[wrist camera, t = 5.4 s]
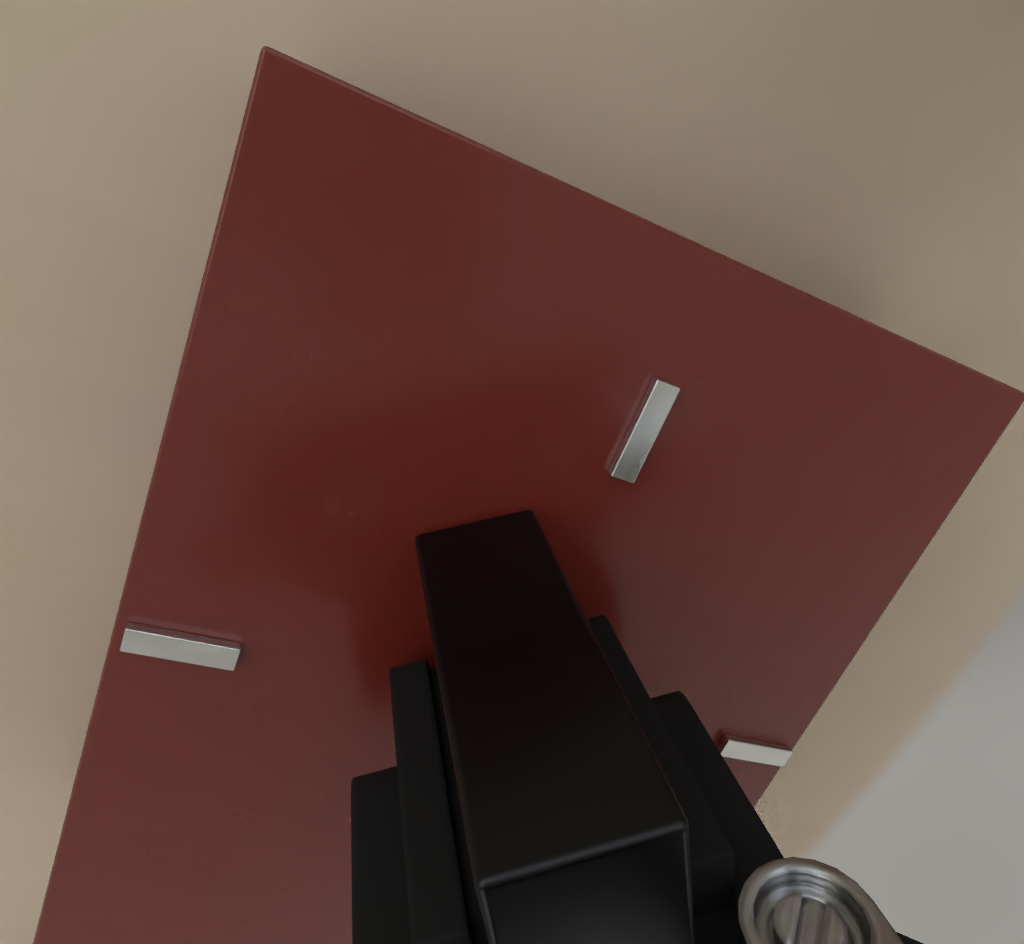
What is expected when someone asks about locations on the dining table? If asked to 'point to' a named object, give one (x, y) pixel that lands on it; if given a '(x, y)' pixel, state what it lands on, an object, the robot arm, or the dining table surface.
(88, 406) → the dining table surface
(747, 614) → the rotary switch block
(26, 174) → the dining table surface
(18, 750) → the dining table surface
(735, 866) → the robot arm
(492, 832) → the black rectangular block
